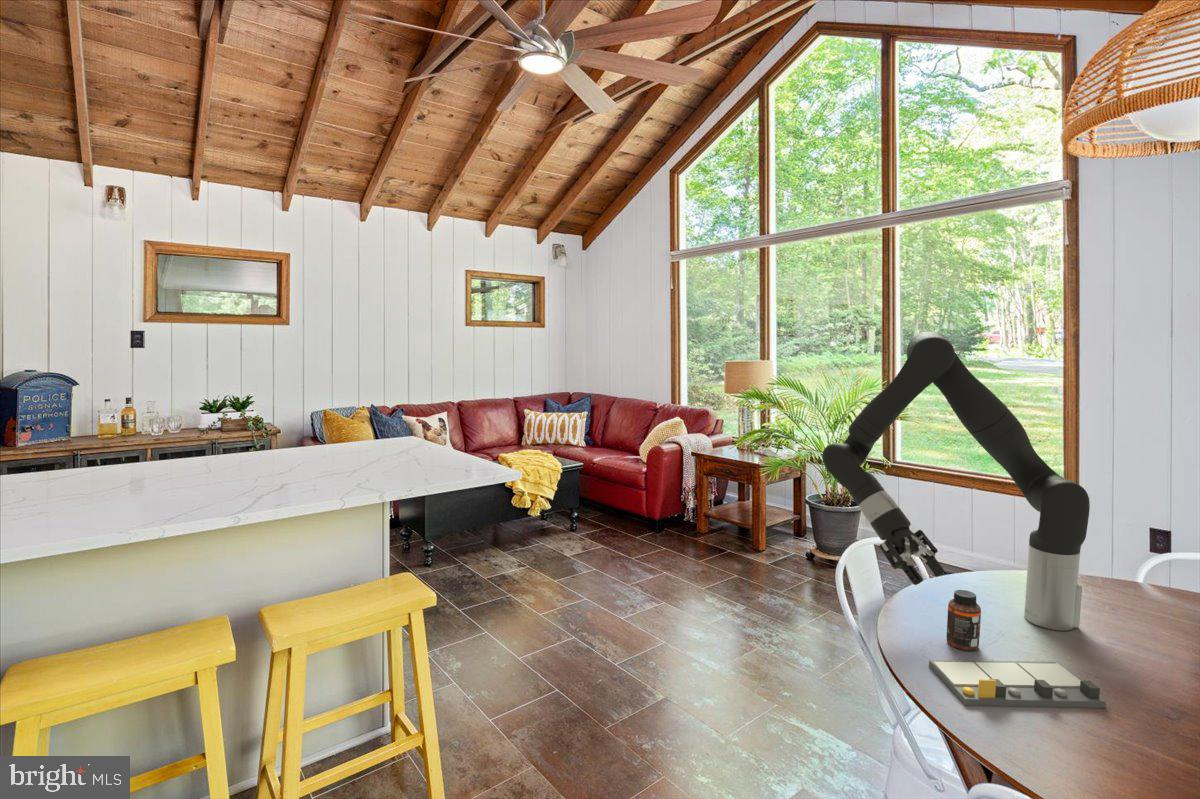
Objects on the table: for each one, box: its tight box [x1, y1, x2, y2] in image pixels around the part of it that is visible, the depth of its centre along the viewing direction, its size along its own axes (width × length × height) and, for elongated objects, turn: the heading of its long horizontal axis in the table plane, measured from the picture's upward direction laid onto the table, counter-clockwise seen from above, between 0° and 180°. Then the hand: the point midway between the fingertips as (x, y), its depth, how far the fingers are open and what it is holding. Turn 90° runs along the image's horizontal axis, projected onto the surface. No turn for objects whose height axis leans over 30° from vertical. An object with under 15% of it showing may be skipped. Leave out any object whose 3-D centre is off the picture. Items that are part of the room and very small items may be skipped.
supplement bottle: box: [946, 589, 982, 652], centre depth 128 cm, size 6×6×11 cm
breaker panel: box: [928, 659, 1107, 709], centre depth 113 cm, size 24×13×4 cm, turn 87°
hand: (930, 578), depth 134 cm, fingers open, 8 cm apart
